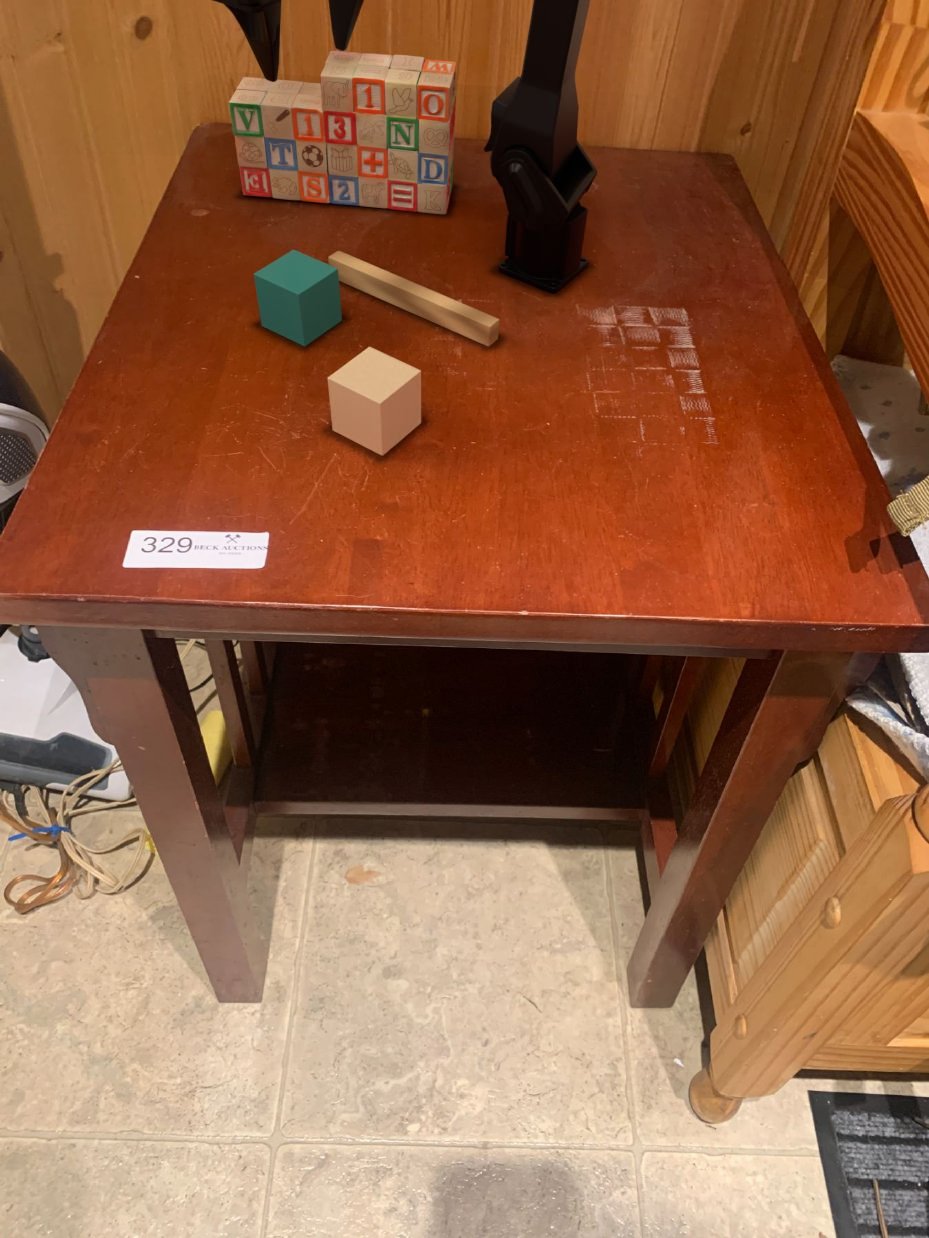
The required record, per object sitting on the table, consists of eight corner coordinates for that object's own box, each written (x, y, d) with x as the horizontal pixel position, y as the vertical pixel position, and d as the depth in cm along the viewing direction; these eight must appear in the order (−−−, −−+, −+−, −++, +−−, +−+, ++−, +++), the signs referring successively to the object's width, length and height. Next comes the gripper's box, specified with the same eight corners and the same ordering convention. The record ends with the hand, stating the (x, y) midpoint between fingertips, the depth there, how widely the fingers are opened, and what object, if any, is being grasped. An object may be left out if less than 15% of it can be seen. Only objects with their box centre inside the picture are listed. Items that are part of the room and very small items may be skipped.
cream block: (421, 423, 73) (421, 370, 69) (382, 456, 70) (379, 403, 66) (372, 398, 74) (369, 346, 71) (332, 430, 72) (327, 377, 68)
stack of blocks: (241, 198, 94) (221, 66, 85) (256, 169, 98) (238, 41, 89) (447, 215, 93) (450, 85, 84) (454, 186, 97) (457, 58, 88)
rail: (498, 339, 80) (499, 319, 79) (488, 347, 79) (489, 327, 78) (339, 270, 86) (338, 250, 85) (329, 277, 86) (327, 257, 84)
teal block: (342, 320, 81) (338, 268, 77) (304, 347, 79) (298, 294, 75) (299, 301, 83) (293, 249, 79) (261, 326, 80) (253, 273, 76)
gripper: (290, -193, 78) (310, 15, 90) (118, -155, 68) (166, 74, 80) (392, -173, 74) (398, 43, 86) (224, -128, 64) (258, 108, 76)
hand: (307, 64), depth 82 cm, fingers open, 9 cm apart
